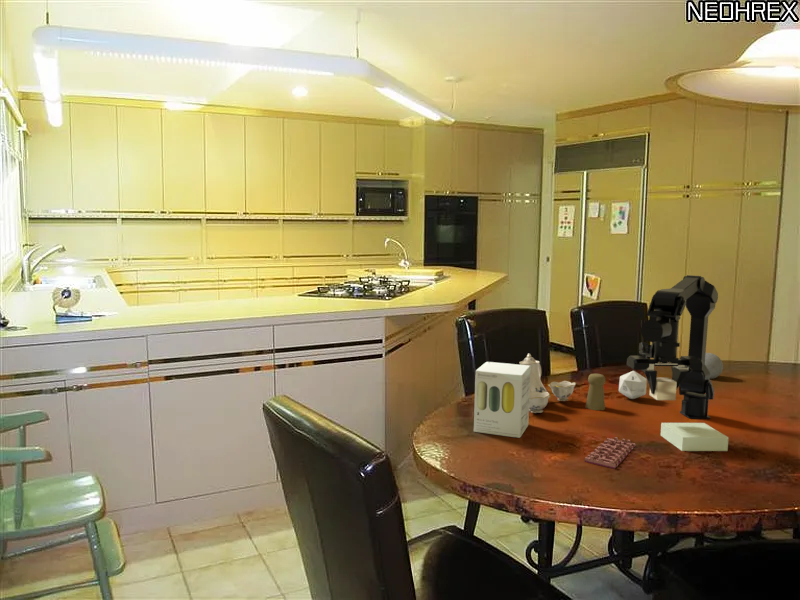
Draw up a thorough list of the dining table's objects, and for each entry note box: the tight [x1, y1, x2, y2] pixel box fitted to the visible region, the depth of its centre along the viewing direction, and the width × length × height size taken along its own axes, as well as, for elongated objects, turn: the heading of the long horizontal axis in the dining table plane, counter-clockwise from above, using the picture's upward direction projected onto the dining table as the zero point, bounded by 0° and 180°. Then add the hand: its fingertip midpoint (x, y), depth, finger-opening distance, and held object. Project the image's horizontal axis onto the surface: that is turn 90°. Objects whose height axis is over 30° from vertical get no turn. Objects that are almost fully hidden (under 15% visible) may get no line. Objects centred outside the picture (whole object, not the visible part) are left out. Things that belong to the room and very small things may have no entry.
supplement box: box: [473, 361, 531, 439], centre depth 175 cm, size 13×13×18 cm
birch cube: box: [649, 376, 677, 401], centre depth 170 cm, size 5×5×5 cm
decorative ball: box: [705, 352, 724, 380], centre depth 239 cm, size 10×10×10 cm
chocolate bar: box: [584, 436, 636, 470], centre depth 158 cm, size 7×19×2 cm, turn 145°
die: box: [618, 370, 648, 400], centre depth 208 cm, size 8×9×10 cm
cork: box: [584, 373, 606, 411], centre depth 197 cm, size 6×6×11 cm
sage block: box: [660, 422, 729, 452], centre depth 166 cm, size 12×12×4 cm
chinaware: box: [519, 353, 577, 414], centre depth 198 cm, size 28×17×17 cm, turn 145°
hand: (662, 393), depth 170 cm, fingers closed on birch cube, 5 cm apart
